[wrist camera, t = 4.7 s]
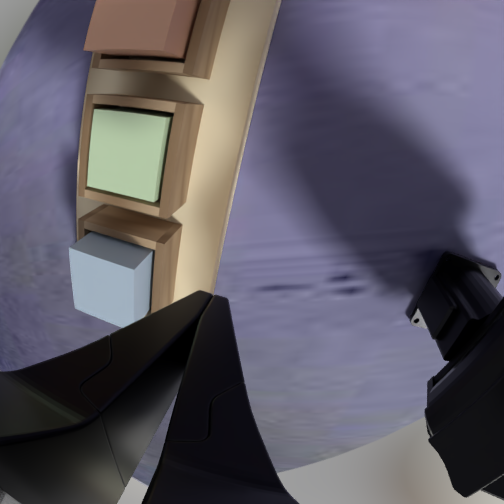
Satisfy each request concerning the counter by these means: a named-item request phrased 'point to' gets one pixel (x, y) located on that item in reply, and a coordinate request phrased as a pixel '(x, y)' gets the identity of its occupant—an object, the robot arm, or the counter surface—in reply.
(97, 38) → the terracotta key
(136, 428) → the robot arm
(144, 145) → the sage key
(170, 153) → the beige wooden block tray
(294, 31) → the counter surface
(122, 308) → the pale blue square block
